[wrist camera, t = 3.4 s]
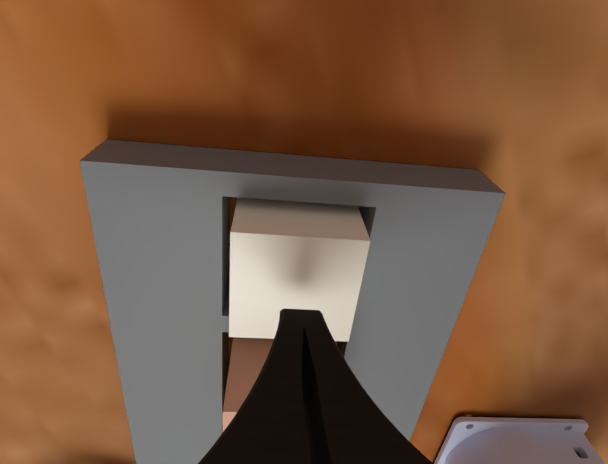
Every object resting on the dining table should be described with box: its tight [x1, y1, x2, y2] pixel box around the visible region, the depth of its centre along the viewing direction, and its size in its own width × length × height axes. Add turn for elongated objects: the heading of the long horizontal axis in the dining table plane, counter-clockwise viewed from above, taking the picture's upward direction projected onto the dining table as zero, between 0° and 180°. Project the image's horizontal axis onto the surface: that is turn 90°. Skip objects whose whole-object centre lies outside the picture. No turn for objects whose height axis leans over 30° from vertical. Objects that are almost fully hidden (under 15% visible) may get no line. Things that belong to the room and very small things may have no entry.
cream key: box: [229, 197, 370, 342], centre depth 17 cm, size 5×5×4 cm
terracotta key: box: [223, 337, 337, 432], centre depth 19 cm, size 5×5×4 cm
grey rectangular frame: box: [80, 139, 506, 464], centre depth 21 cm, size 16×22×2 cm
